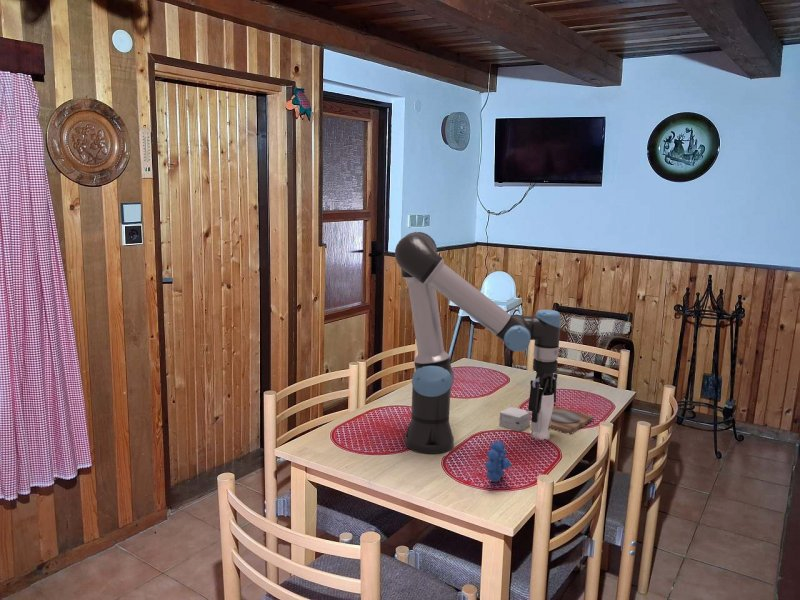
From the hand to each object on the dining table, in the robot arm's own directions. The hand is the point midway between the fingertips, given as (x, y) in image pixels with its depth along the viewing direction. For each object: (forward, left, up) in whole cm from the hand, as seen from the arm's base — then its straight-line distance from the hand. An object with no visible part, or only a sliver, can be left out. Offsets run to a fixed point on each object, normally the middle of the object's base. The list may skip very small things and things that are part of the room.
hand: (540, 428), depth 213 cm
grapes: (-38, -8, -3) cm, 39 cm away
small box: (+3, +11, -3) cm, 12 cm away
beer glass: (0, 0, -3) cm, 3 cm away
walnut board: (+18, +1, -3) cm, 18 cm away
